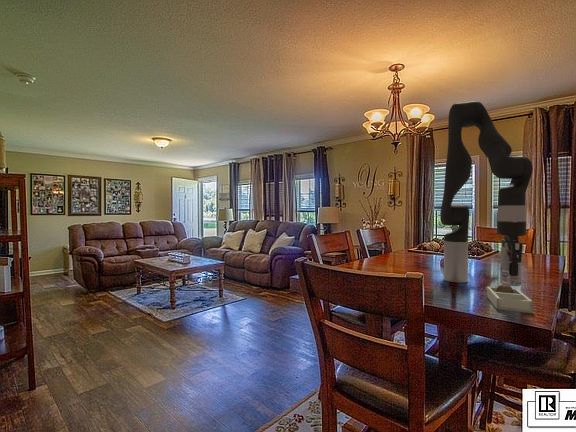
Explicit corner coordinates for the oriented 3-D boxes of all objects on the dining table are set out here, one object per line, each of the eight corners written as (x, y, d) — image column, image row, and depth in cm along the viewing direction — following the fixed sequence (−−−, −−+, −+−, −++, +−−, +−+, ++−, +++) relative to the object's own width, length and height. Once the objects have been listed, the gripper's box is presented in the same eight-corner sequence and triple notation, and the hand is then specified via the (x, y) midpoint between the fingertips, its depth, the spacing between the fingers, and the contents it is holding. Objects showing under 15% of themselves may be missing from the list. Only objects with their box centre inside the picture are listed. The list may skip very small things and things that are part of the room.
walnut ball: (494, 296, 108) (494, 282, 108) (511, 297, 106) (511, 283, 106) (498, 299, 104) (498, 285, 104) (515, 301, 102) (515, 286, 102)
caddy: (486, 296, 111) (486, 286, 110) (517, 299, 107) (517, 289, 107) (497, 309, 96) (497, 298, 96) (533, 313, 92) (533, 301, 92)
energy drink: (514, 282, 100) (514, 245, 100) (525, 286, 95) (525, 247, 95) (496, 282, 101) (497, 245, 101) (506, 286, 95) (506, 247, 95)
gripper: (492, 219, 106) (491, 269, 106) (502, 220, 92) (502, 277, 93) (519, 219, 103) (518, 270, 103) (533, 220, 89) (533, 279, 90)
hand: (510, 273), depth 98 cm, fingers closed on energy drink, 5 cm apart
